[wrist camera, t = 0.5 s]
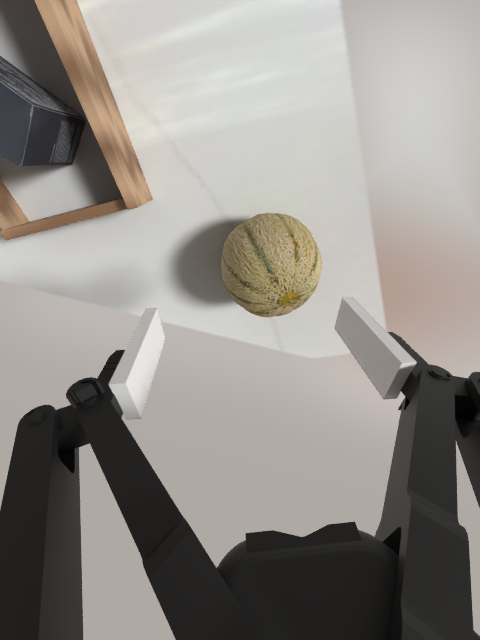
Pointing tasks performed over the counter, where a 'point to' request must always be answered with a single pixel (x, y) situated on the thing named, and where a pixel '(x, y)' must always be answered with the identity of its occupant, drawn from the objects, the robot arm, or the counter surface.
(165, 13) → the counter surface
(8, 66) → the small box
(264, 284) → the cantaloupe
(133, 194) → the open wooden tray
